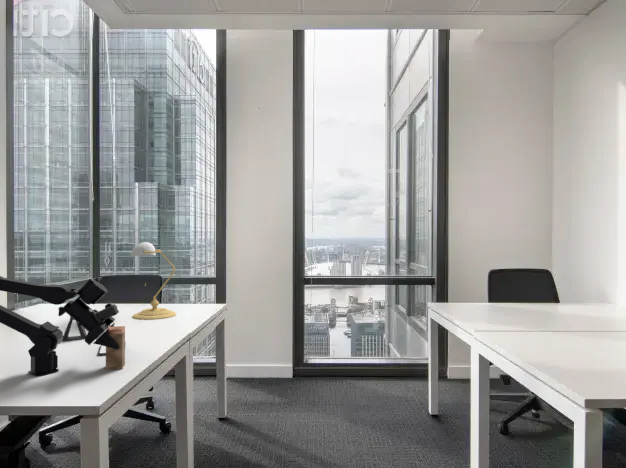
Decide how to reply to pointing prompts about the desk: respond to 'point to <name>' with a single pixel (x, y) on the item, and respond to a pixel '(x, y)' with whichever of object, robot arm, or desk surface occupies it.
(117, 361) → the wooden block
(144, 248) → the desk lamp
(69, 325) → the phone stand
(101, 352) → the phone case
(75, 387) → the desk surface
